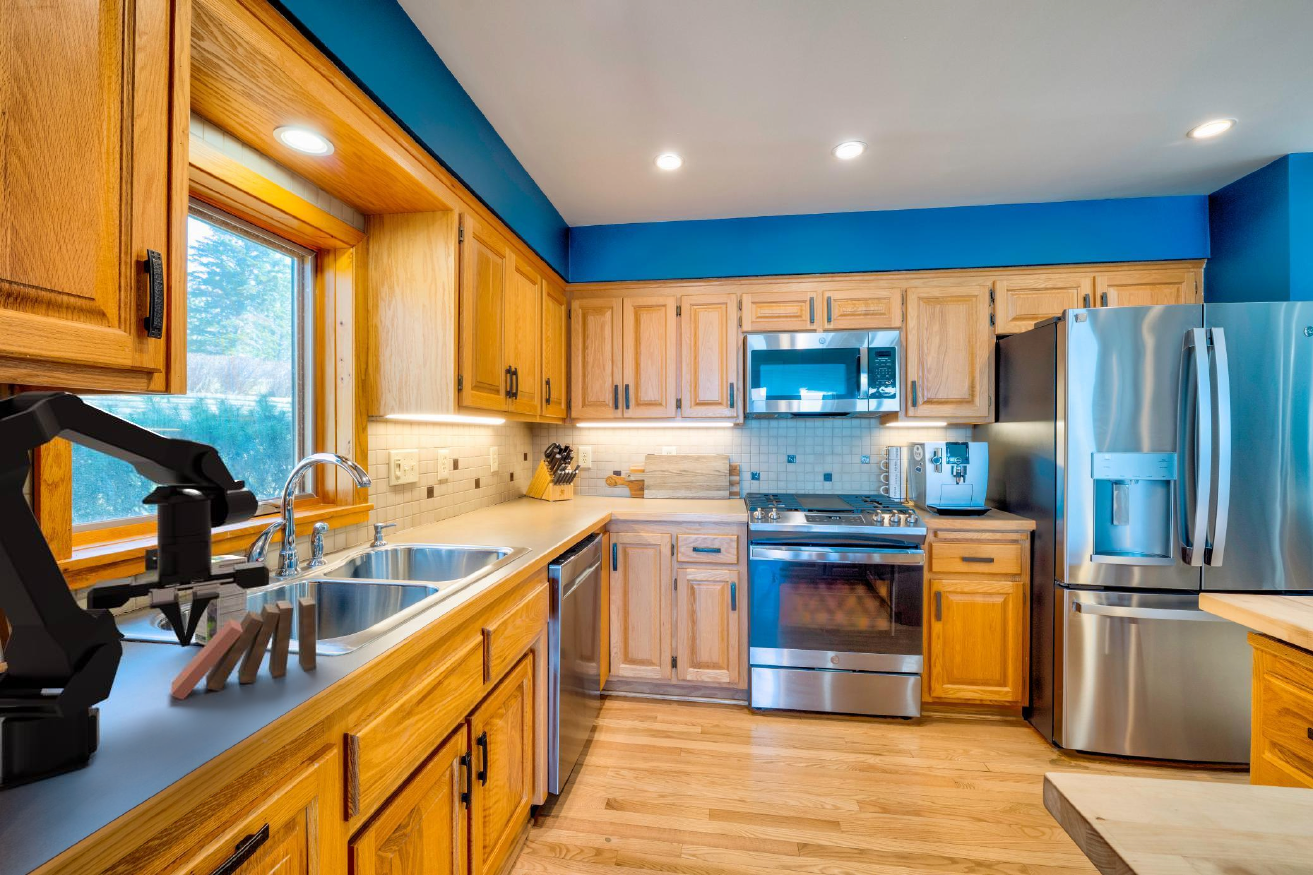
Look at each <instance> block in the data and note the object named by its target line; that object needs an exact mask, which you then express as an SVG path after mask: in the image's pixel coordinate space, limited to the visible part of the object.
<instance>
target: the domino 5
mask: <svg viewBox="0 0 1313 875" xmlns="http://www.w3.org/2000/svg"><path fill="white" fill-rule="evenodd" d="M297 601H298V608H297V609H298V610H297V611H298V612H297V613H298V662H299V665H300V667H301V669H302V670H303V672H306V671H310V670H314V669H317V629H316V628H317V603H316V602H315V600H314V599H313V598H312V597H311V596H305V597H299V598H298V600H297Z"/></svg>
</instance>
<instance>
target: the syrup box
mask: <svg viewBox="0 0 1313 875" xmlns="http://www.w3.org/2000/svg"><path fill="white" fill-rule="evenodd" d="M243 563H248V557H243V556H237V555H232V554H227V555H226V554H225V555H222V554H221V555H213V556H212V573H219V572H227V571H233V565H235V564H243ZM218 590H219V594H220V598H218V599H214V600H211V601H210V602H209V604H208V606H207V608H206V609H205V611H204V613H203V615H202V616H201V618H200V620H199V623H198V625H197V628H196V630H195V633H194V642H195V641H196V642H198V644H200V645H204V646H206V644H207V643H208V642H209V641H210V640H211V639H212V638H213V637H214V636H215V634H216V633H217V632H218V631H219V630H220V629H221V628H222V627H223V626H224V625H225V623H226V622H227V621H228V620H229V619H232V620H234V621H236V622H238V623H241V622H242V620H243V619H244V617H245V616H246V614H247V613H248V609H247V608H248V589H242V588H241V587H239V586H237V585H236V583H234V584H227V585H220V588H218ZM196 642H195V643H196Z"/></svg>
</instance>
